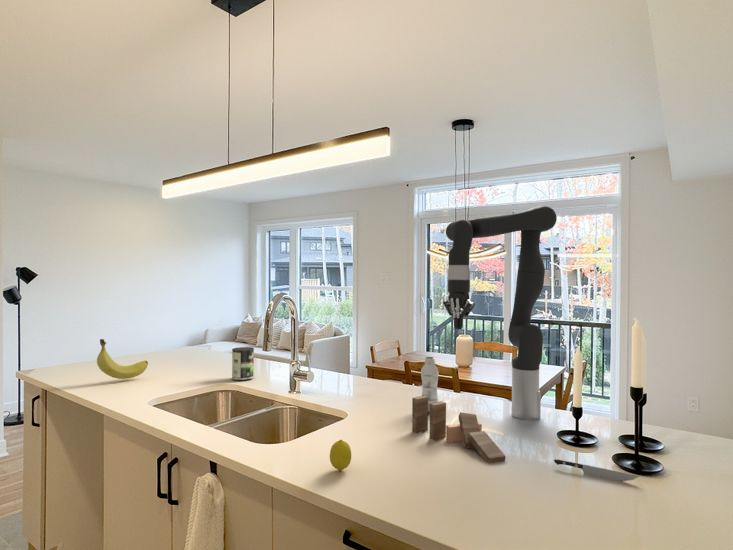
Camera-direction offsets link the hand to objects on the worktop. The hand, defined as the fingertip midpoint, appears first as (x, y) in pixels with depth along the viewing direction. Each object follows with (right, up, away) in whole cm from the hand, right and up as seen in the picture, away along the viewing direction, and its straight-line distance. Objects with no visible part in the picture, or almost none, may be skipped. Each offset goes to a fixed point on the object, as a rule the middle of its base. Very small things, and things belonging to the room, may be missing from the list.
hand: (458, 329), depth 154 cm
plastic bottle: (-8, -32, +11) cm, 35 cm away
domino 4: (-1, -31, -25) cm, 40 cm away
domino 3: (-7, -30, -19) cm, 36 cm away
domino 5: (+3, -31, -34) cm, 46 cm away
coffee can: (-92, -32, +65) cm, 117 cm away
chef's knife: (+25, -32, -43) cm, 59 cm away
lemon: (-38, -32, -39) cm, 63 cm away
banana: (-147, -31, +60) cm, 162 cm away
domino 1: (-14, -32, -10) cm, 36 cm away
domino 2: (-10, -32, -16) cm, 37 cm away
